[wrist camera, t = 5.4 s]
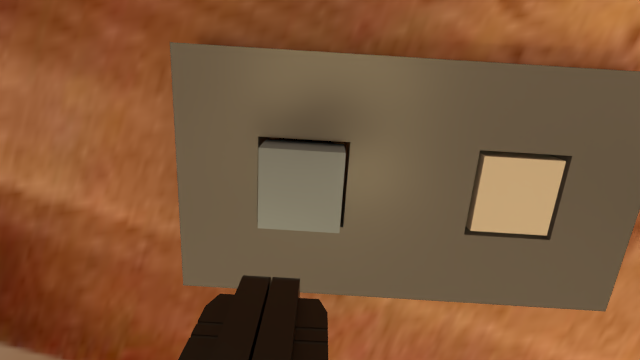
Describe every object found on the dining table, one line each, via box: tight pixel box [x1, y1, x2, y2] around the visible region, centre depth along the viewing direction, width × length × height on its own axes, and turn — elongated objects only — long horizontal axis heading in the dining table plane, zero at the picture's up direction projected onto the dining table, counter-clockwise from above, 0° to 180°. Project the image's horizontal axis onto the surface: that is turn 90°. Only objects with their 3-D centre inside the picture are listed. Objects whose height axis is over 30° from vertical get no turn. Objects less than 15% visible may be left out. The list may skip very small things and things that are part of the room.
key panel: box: [170, 42, 640, 311], centre depth 22 cm, size 26×14×4 cm, turn 87°
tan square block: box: [466, 150, 566, 236], centre depth 21 cm, size 4×4×2 cm
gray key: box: [258, 139, 346, 233], centre depth 20 cm, size 4×4×2 cm
